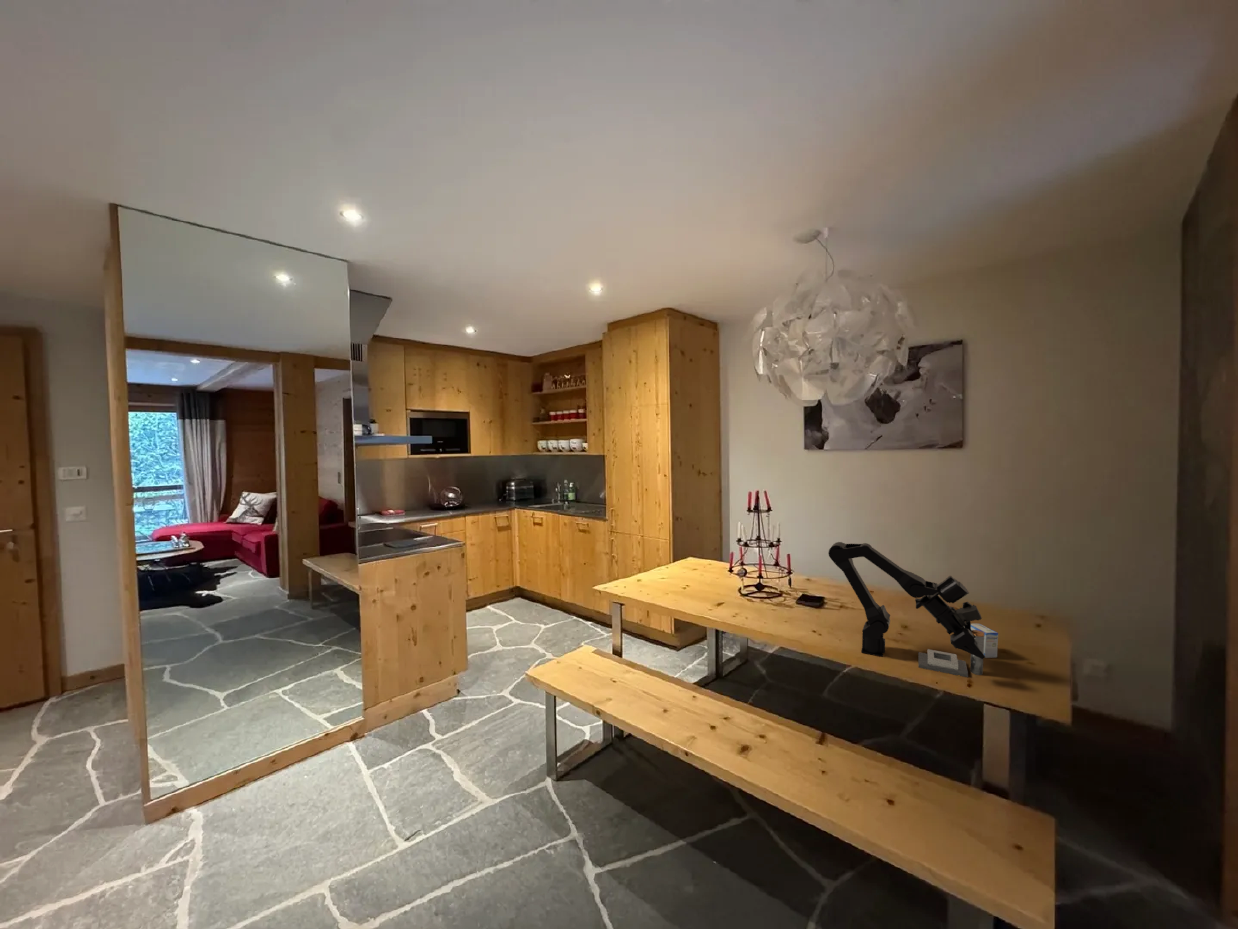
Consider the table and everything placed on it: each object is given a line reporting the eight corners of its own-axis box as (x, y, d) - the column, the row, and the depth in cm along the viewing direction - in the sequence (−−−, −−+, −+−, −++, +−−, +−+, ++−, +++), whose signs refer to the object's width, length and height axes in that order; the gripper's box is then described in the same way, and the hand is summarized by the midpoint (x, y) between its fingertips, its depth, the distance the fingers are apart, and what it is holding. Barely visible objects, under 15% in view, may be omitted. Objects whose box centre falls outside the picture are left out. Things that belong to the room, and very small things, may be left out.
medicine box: (966, 647, 172) (967, 623, 172) (978, 647, 173) (979, 623, 172) (984, 658, 164) (986, 633, 164) (997, 657, 165) (998, 632, 164)
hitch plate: (918, 667, 159) (918, 658, 159) (918, 655, 167) (918, 646, 167) (968, 677, 152) (968, 668, 152) (965, 664, 161) (965, 655, 160)
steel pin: (970, 673, 155) (972, 632, 154) (969, 669, 157) (971, 629, 156) (983, 676, 153) (985, 635, 152) (982, 671, 156) (983, 631, 155)
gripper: (965, 606, 147) (1011, 650, 143) (960, 588, 163) (1001, 627, 159) (933, 626, 152) (976, 670, 147) (931, 607, 168) (970, 646, 163)
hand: (982, 652), depth 154 cm, fingers open, 9 cm apart
